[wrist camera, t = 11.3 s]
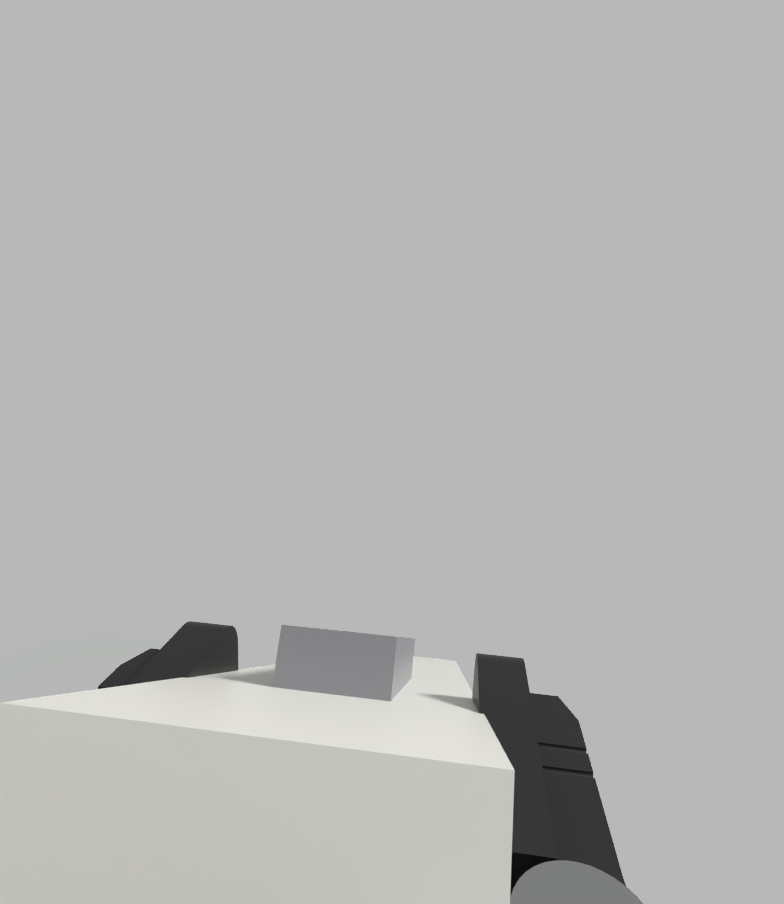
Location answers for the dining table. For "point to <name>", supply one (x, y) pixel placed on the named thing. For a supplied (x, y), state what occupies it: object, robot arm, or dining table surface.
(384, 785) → the white long block
